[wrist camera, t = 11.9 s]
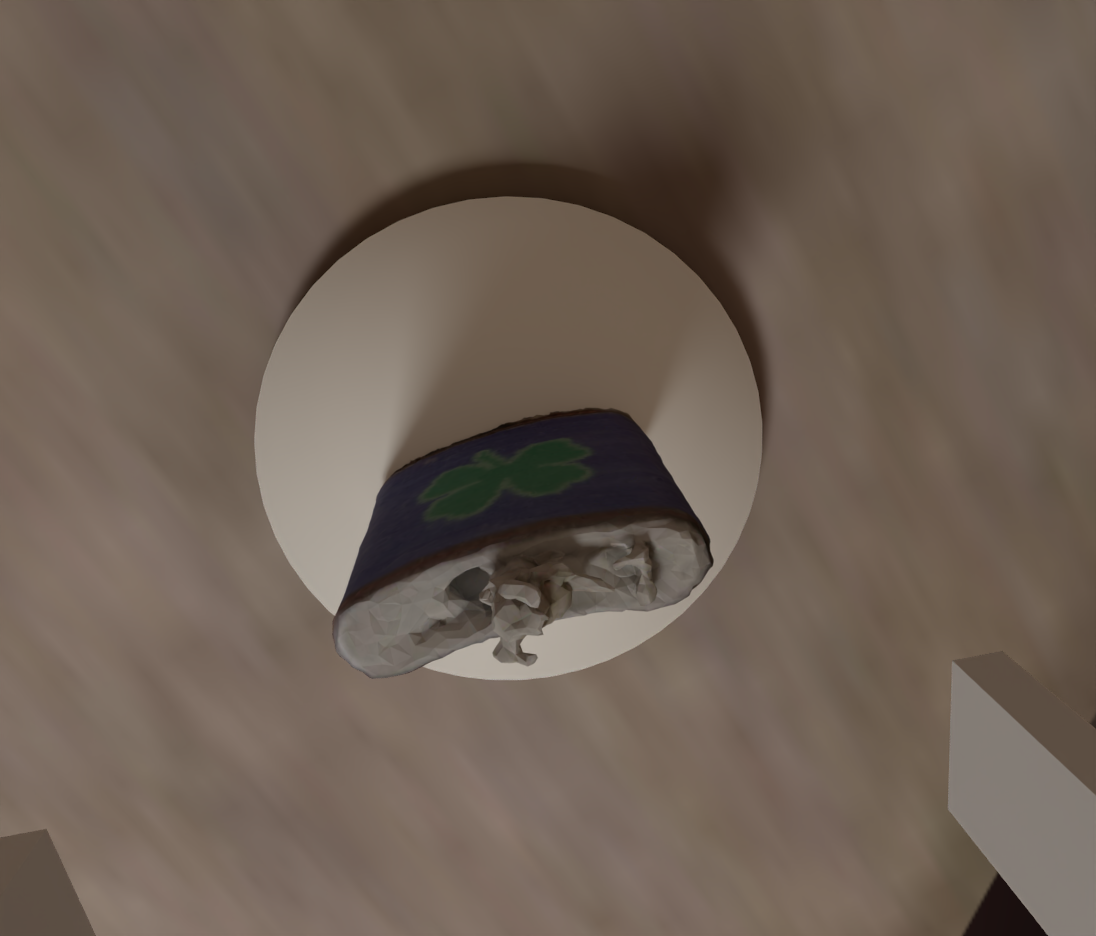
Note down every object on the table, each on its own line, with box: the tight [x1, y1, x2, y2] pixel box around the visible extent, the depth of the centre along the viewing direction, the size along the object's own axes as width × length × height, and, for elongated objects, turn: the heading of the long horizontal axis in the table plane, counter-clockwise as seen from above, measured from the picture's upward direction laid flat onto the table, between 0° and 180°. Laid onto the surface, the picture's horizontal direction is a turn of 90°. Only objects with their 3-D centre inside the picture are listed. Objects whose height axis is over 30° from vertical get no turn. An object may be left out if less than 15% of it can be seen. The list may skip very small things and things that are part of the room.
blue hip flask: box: [332, 408, 714, 679], centre depth 21 cm, size 9×3×11 cm, turn 105°
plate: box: [254, 196, 762, 680], centre depth 27 cm, size 17×17×1 cm
